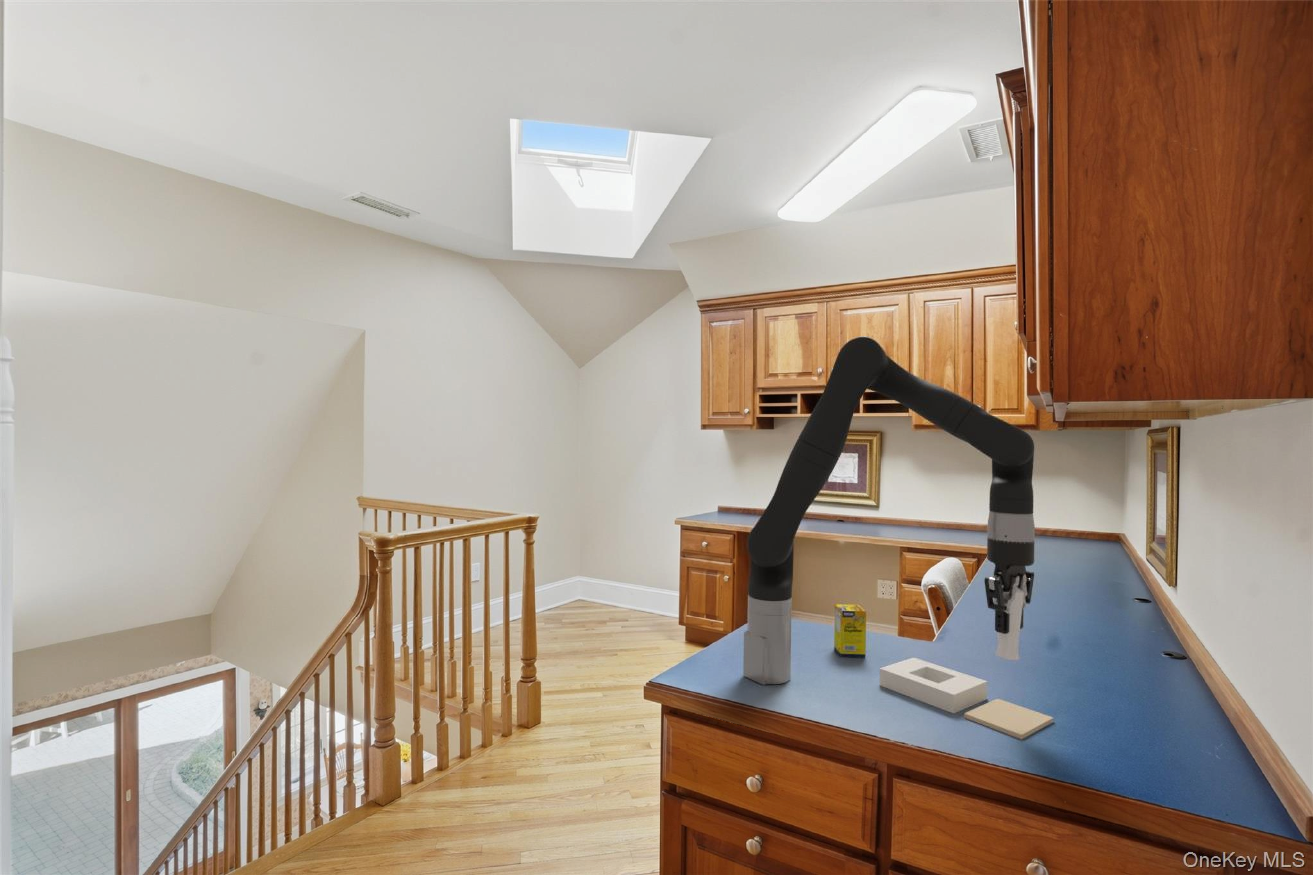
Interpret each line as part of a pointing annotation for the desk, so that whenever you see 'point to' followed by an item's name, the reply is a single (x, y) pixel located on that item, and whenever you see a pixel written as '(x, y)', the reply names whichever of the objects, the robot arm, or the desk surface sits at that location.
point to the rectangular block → (934, 684)
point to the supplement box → (850, 631)
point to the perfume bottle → (1011, 629)
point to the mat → (1009, 718)
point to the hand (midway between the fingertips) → (1009, 629)
